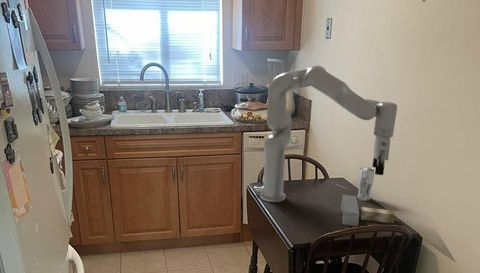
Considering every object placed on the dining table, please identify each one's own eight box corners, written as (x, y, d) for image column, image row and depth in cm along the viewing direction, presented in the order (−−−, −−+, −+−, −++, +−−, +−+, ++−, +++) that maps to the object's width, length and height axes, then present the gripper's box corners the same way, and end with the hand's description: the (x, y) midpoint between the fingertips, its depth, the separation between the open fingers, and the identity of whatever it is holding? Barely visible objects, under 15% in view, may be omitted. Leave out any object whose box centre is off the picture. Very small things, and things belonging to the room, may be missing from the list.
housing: (342, 224, 153) (344, 211, 152) (341, 206, 171) (342, 194, 170) (357, 226, 152) (359, 213, 151) (354, 207, 170) (356, 196, 169)
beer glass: (355, 200, 179) (359, 170, 175) (356, 194, 185) (360, 166, 182) (370, 202, 177) (374, 172, 173) (371, 197, 183) (375, 168, 179)
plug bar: (361, 219, 159) (362, 210, 158) (360, 215, 163) (361, 206, 162) (393, 223, 156) (394, 214, 155) (391, 219, 160) (393, 210, 159)
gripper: (396, 137, 146) (389, 178, 150) (389, 128, 162) (383, 165, 166) (376, 135, 147) (370, 176, 151) (371, 126, 164) (366, 163, 168)
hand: (377, 170), depth 159 cm, fingers open, 9 cm apart
